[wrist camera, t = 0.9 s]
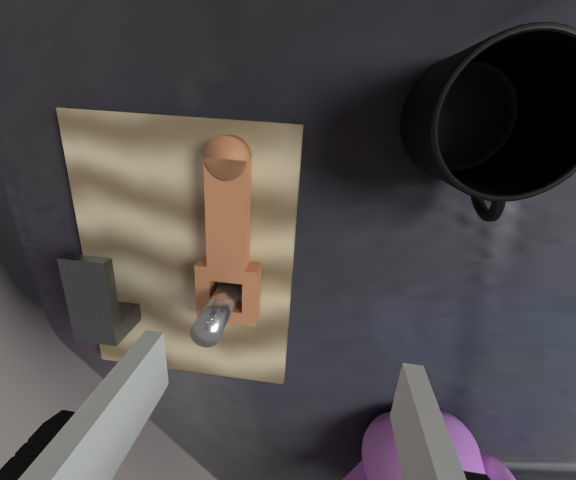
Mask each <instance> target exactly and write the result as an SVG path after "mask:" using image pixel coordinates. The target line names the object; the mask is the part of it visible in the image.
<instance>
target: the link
mask: <svg viewBox="0 0 576 480" xmlns="http://www.w3.org/2000/svg"><path fill="white" fill-rule="evenodd" d="M251 164H252V155H251V151H250V148H249V146H248V145H247V143H246V142H245V141H244V140H243V139H241V138H240V137H238V136H235V135H225V136H219V137H216V138H214V139H212V140H211V141H209V143H208V144H207V145H206V147H205V149H204V153H203V168H204V199H205V231H206V258H204V257H202V258H201V259H200V260H199V261H198V262H197V263H196V264H195V266H194V272H195V293H196V314H197V318H198V316H199V315H200V313H201V312H202V310H203V308H204V307H205V305H206V304H207V302H208V301H209V299H210V298H211V296H212V295H213V293H214V292H215V290H216V282H224V283H233V284H242V302H237V304H236V306H235V308H234V310H233V312H232V314H231V316H230V318H229V320H228V322H227V324H235V325H243V326H251V327H256V324H257V322H258V319H259V316H260V290H261V264H260V263H251V262H249V258H250V211H251Z"/></svg>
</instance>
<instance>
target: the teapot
mask: <svg viewBox="0 0 576 480" xmlns="http://www.w3.org/2000/svg"><path fill="white" fill-rule="evenodd" d="M440 411H441V414H442V416H443V419H444V422H445V424H446V427H447V430H448V432H449V435H450V437H451V440H452V443H453V445H454V448H455V451H456V453H457V456H458V458H459V461H460V464H461V466H462V469H463V471H468V472H474V473H481V474H487V476H488V477H489V478H490V479H491V480H516V479H515V478H514V476H513V475H512V474H511V472H510V471H509V470H508V469H507V468H506V467H505V466H504V465H503V464H502V463H501V462H500V461H499V460H497V459H496V458H495V457H493V456H492V455H490V454H488V453H485V452H483V451H481V450H479V448H478V445H477V443H476V441H475V439H474V437H473V435H472V434H471V433H470V431H469V430H468V429H467V427H466V426H465V425H464V424H463V423H462V422H461V421H460V420H458V419H457V418H456V417H454V416H453V415H451V414H450V413H448V412H446V411H444V410H442V409H440ZM390 413H391V411H390V412H386V413H383V414H381V415H379V416H377V417H376V418H375V419H374V420H373V421H372V422H371V423H370V425H369V426H368V428H367V430H366V432H365V434H364V437H363V442H362V461H361V462H360V463H359V464H358V465H357V466H356V467H355V468H354V469H353V470H352V471H351V472H350V473H349V474H348V475H347V476H346V477H345V478H344V479H343V480H403V477H402V472H401V467H400V463H399V458H398V453H397V448H396V443H395V438H394V433H393V429H392V424H391V419H390Z"/></svg>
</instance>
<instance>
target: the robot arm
mask: <svg viewBox="0 0 576 480" xmlns="http://www.w3.org/2000/svg"><path fill="white" fill-rule="evenodd" d="M168 384H169V383H168V373H167V363H166V352H165V342H164V332H157V331H149V330H145V331H144V333H143V334H142V335H141V336H140V337H139V338H138V340H137V341H136V342H135V343H134V344H133V345H132V347H131V348H130V349H129V350H128V351H127V353H126V354H125V355H124V356H123V357H122V358H121V360H120V361H119V362H118V363H117V364H116V365H115V367H114V368H113V369H112V370H111V371H110V372H109V374H108V375H107V376H106V377H105V378H104V379H103V381H102V382H101V383H100V384H99V385H98V387H97V388H96V389H95V390H94V391H93V392H92V394H91V395H90V396H89V397H88V398H87V399H86V401H85V402H84V403H83V404H82V405H81V406H80V408H79V409H78V410H77V411H76V412H71V411H66V410H62V411H60V412H59V413H57V414H56V415H54V416H53V417H52V418H50V419H49V420H47V421H46V422H44V423H43V424H42V425H41V426H40V427H39V428H38V430H37V431H36V432H35V433H34V434H33V435H32V436H31V437H30V438H29V439H28V442H27V443H25V444H24V445H23V446H22V447H21V448H20V449H19V450H18V451H17V452H16V453H15V456H14V457H12V458H11V459H10V460H9V461H8V462H7V463H6V464H5V465H4V466H3V467H2V468H1V469H0V480H112V478H113V477H114V475H115V473H116V472H117V470H118V468H119V467H120V465H121V463H122V462H123V460H124V458H125V457H126V455H127V453H128V452H129V450H130V448H131V446H132V445H133V443H134V442H135V440H136V438H137V436H138V435H139V433H140V431H141V429H142V428H143V426H144V425H145V423H146V421H147V420H148V418H149V416H150V415H151V413H152V411H153V410H154V408H155V406H156V405H157V403H158V401H159V400H160V398H161V396H162V394H163V393H164V391H165V389H166V388H167V386H168ZM390 419H391V424H392V429H393V433H394V438H395V443H396V448H397V453H398V458H399V463H400V467H401V472H402V477H403V480H491V479H490V478H489V477H488V476H487V474H481V473H474V472H468V471H463V469H462V466H461V464H460V461H459V458H458V456H457V453H456V451H455V448H454V445H453V443H452V440H451V437H450V435H449V432H448V430H447V427H446V424H445V422H444V419H443V416H442V414H441V411H440V409H439V406H438V403H437V401H436V398H435V395H434V393H433V390H432V388H431V385H430V382H429V380H428V377H427V374H426V372H425V369H424V367H423V366H422V365H414V364H406V363H402V367H401V372H400V376H399V380H398V384H397V388H396V392H395V397H394V401H393V405H392V409H391V413H390Z"/></svg>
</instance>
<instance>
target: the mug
mask: <svg viewBox="0 0 576 480" xmlns="http://www.w3.org/2000/svg"><path fill="white" fill-rule="evenodd" d="M400 130H401V138H402V142H403V145H404V148H405V150H406V152H407V154H408V155H409V157H410V158H411V159H412V161H413V162H414V163H415V164H416V165H417V166H418V167H420V168H421V169H422V170H424V171H426V172H428V173H429V174H431V175H433V176H435V177H436V178H438V179H440V180H442V181H444V182H445V183H447V184H449V185H451V186H453V187H454V188H456V189H458V190H460V191H462V192H463V193H465V194H467V195H470V196H471V200H472V203H473V206H474V208H475V210H476V212H477V214H478V215H479V217H480V218H481V219H482V220H484V221H496V220H497V219H498V218H499V217H500V216H501V214H502V212H503V210H504V207H505V202H506V201H517V200H521V199H526V198H529V197H533V196H536V195H538V194H541V193H544V192H546V191H548V190H550V189H552V188H554V187H555V186H557V185H559V184H560V183H562V182H563V181H565V180H566V179H568V178H569V177H570V176H572V175H573V174H574V173H575V172H576V28H573V27H571V26H568V25H564V24H559V23H553V22H537V23H529V24H523V25H519V26H516V27H513V28H510V29H507V30H504V31H502V32H500V33H498V34H496V35H494V36H491V37H489V38H487V39H485V40H483V41H481V42H479V43H477V44H475V45H473V46H471V47H469V48H467V49H465V50H463V51H461V52H459V53H457V54H455V55H453V56H451V57H449V58H447V59H445V60H443V61H441V62H439V63H437V64H436V65H434V66H433V67H432V68H430V69H429V70H428V71H427V72H426V73H425V74H423V75H422V76H421V78H420V79H419V80H418V81H417V82H416V84H415V85H414V86H413V88H412V89H411V91H410V93H409V95H408V97H407V99H406V101H405V104H404V107H403V110H402V115H401V123H400ZM484 200H487V201H491V206H490V208H489V209H488V208H487V206H486V205H485V202H484Z"/></svg>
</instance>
